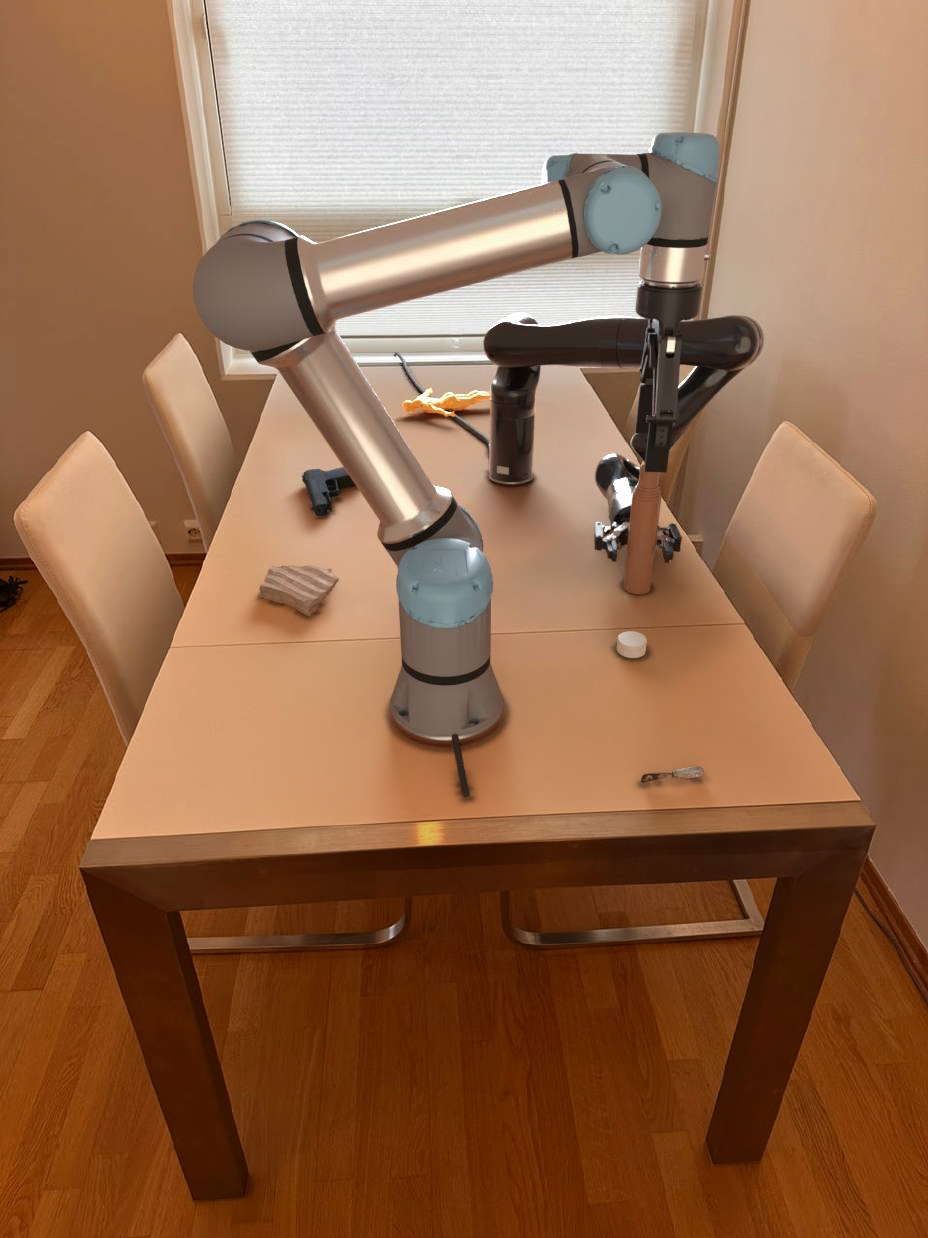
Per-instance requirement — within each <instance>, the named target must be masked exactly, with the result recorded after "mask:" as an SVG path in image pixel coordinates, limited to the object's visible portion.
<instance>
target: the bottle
mask: <svg viewBox="0 0 928 1238" xmlns="http://www.w3.org/2000/svg"><path fill="white" fill-rule="evenodd" d="M644 466H645V465H642V466H641V467H640V470H639V472H640V474H639V482H638V483H637V486H636V488H635V489H634V491H633V494H632V503H631V513H630V522H629V532H628V542H627V545H626V551H625V552H626V553H625V562H624V570H623V571H624V573H623V580H622V581H623V582H622V589H623V590H624V591H626V592H628V593H630V594H634V595H643V594H647V593H649V592H650V590H651V586H652V578H653V571H654V562H655V555H656V550H655V546H656V538H657V530H658V525H659V520H660V514H661V513H660V512H661V506H662V505H661V504H662V491H661V487H660V484H659V480H660V473H661V472H645V471H644Z"/></svg>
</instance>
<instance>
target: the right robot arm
mask: <svg viewBox="0 0 928 1238" xmlns="http://www.w3.org/2000/svg"><path fill="white" fill-rule="evenodd" d="M648 320H649V319H646V318H643V317H641V316H634V315H633V316H632V315H605V316H597V317H596V316H595V317H590V318H584V319H583V318H582V319H579V320H574V321H569V322H565V323H559V324H553V325H540V324H539V323H538V322H537V320H536V319H535V318H534V317H532V316H531V315H530V314H528V313H526V312H525V313H524V312H514V313H512V314H510V315H507V316H505V317H503V318H502V319H500V320H498V321H497V322H496V323H494V324H493V325H491V327H489V329H488V330H487V331H486V333H485V334H484V337H483V341H482V349H483V352H484V355H485V357H486V358H487V359H488V361H490V363H491V364H493V365H495V366H497V368H496V373H495V375H494V378H493V379H492V381H491V382H490V383H491V384H490V386H489V387H490V388H489V392H490V399H489V437H488V436H486V435H484V434H483V433H482V432H480V431H479V430H478V429H476V428H475V427H473V426H472V425H471V424H469V423H468V422H467V421H465V420H464V419H462V418H461V417H460V416H458V415H457V414H455V416H454V417H452V416H451V415H449V416H450V417H452V418H453V419H454V420H456V421H457V422H459V423H460V424H461V425H463V426H464V427H466V428H467V429H468V430H470V431H471V432H472V433H473V434H474V435H476V436H477V437H479V438H480V439H481V440H483V441H484V442H485V443H486V444H487V446H488V455H489V459H488V464H489V465H488V470H489V471H488V478H489V480H490V481H491V482H493V483H495V484H499V485H503V486H521V485H525V484H528V483H529V482H531V481H533V479H534V455H535V453H534V451H535V430H536V429H535V428H536V427H535V426H536V400H537V398H536V397H537V390H538V387H539V383H540V379H541V371H542V370H541V369H542V367H543V366H544V367H545V366H562V367H574V368H593V369H594V368H595V369H596V368H597V369H622V370H623V369H625V370H626V369H627V370H628V369H640V367H641V361H642V356H643V350H644V345H645V339H646V329H647V328H648ZM678 329H679V334H682V339H683V344H682V347H681V356H680V366H690V367H691V366H692V367H693V369H692V370H691V372H690V373H689V374H688V375H687V376H686V378H685V379H684V380H683V381H682V382H681V383H679V388H678V404H677V416H678V418H677V422H676V423H673V427H672V435H671V443H670V450H672V448H673V447H674V446H675V444H676V443H677V442H678V441H679V440H680V439H681V437H682V436H683V435H684V433H685V432H686V431H687V430H688V429H689V427H690V426H691V425H692V424H693V422H694V421H695V420H696V419H697V417H699V415H700V414H701V413H702V412H703V410H704V409H705V408H706V407H707V405H708V404H709V403H710V402H711V401H712V400H713V399H714V398H715V397H716V395H718V394H719V392H721V390H723V388H724V387H726V386H727V384H729V382H731V381H732V380H733V379H734V378H736V376H738V375H739V374H740V373H741V372H743V370H745V369H746V368H747V367H750V365H752V364H753V363H754V362H756V360H758V359H759V357H760V356H761V354H762V351H763V348H764V344H765V333H764V330H763V328H762V326H761V325H760V323H758V321H757V320H755V319H754V318H752V317H749V316H747V315H741V314H731V315H725V316H720V317H712V318H704V319H694V320H693V319H692V320H682V321H680V322H679V323H678ZM393 357H394V358H395V357H398V358H399V360H400V361H401V363H402V366H403V368H404V370H405V372H406V374H407V376H408V377H409V379H410V381H412V384H413V385H415V387H416V388H417V389H418V391H419V392H421V394H423V393H425V390H426V389H424V388H423V387H422V386H421V385H420V384H419V382H418V381H417V380H416V379H415V377H414V376H413V374H412V372H411V371H410V369H409V366H408V365H407V363H406V360H405V359H404V357H403V355H401V353H400V352H398V351H395V352H394V353H393ZM428 397H429V398H433V396H431V394H429V396H428ZM445 411H446V412H452V411H451V410H448V409H447V410H445ZM661 412H669V411H661ZM647 440H648V434H641V433H635V432H634V434H633V435H632V437H631V439H630V447H631V448H632V450H633V451H634V452H635V453H636V454H637V455H638V457H640V459H641V460H642V461H641V464H640V465H639V466H638V464H636V463H634V462H633V461H631V460H630V459H628V458H627V457H625V456H623V455H621V454H620V453H616V452H612V453H608V454H605V455H604V456H603V457H602V458H601V459H600V460H599V461H598V463H597V464H596V466H595V469H594V481H595V485H596V487H597V488H598V490H599V491H600V493H601V494H602V496H603V497H604V498H605V499H606V500H607V504H608V520H609V521H610V526H605V525H603V522H602V521H596V522H595V523H594V533H593V534H594V535H593V539H594V541H593V543H594V550H595V551H602V549H603V550H605V552H606V557H607V558H608V559H609V560H611V562H612V563H617V561H618V551H620V550H621V549H623V548H624V547H627V542H628V532H629V522H630V513H631V503H632V494H633V491H634V489H635V488H636V486H637V483H638V482H639V474H640V472H639V470H640V467H641V466H642V465H645V457H646V449H647ZM607 535H608V536H607ZM682 541H683V536H682V535H681V532H680V530H679V528H678V526H677V524H676V523H673V522H672V523H669V524H668V526H667V527H661V526H660V525H659V524H658V530H657V538H656V546H655V551H659V552H661V555H662V559H663V562H664V564H669V563H670V562H671V561H673V559H674V553H680V552H681V547H682V546H681V545H682Z"/></svg>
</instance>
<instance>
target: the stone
mask: <svg viewBox="0 0 928 1238" xmlns="http://www.w3.org/2000/svg"><path fill="white" fill-rule="evenodd" d="M338 582H339V577H338V576H337V575H336V574H335V573H333V569H332V568H324V567H321V566H318V565H301V566H299V565H291V564H283V565H281V566H273V565H272V566H270V567H269V568H268V570H267V573H266V574H265V578H264V581H263V582H262V583H261V584H260V585H259V593H258V596H259V597H260V598H263V599H265V600H270V601H272V602H275V603H277V604H285V605H288V606H289V607H292V608H293V609H295V610H296V611H298V612H299V613H301V614H303V615H304V616H307V617H311V616H312V615H313V614H314V613H315V612H317V611H318V609H319V607H320V606H319V605H320V604H321V602H322V601H323V600H324V599H325V598H326V595H328V594H331V592H332V591H333V589H334V588H335V586H336V584H337V583H338Z"/></svg>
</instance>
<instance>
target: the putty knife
mask: <svg viewBox="0 0 928 1238" xmlns="http://www.w3.org/2000/svg"><path fill="white" fill-rule="evenodd" d="M704 772H705V771H704V768H702V767H701V766H697V765H695V766H688V767H683V768H679V769H675V770H673V771H671V772H653V773H652V772H651V773H650V772H649V773H644V774H642V776H641V779H640V783H642V784H645V783H648V782H653V781H659V780H665V779H668V778H673V779H674V778H675V779H693V778H694V779H695V778H700V777H702V776H703V775H704Z"/></svg>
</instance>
